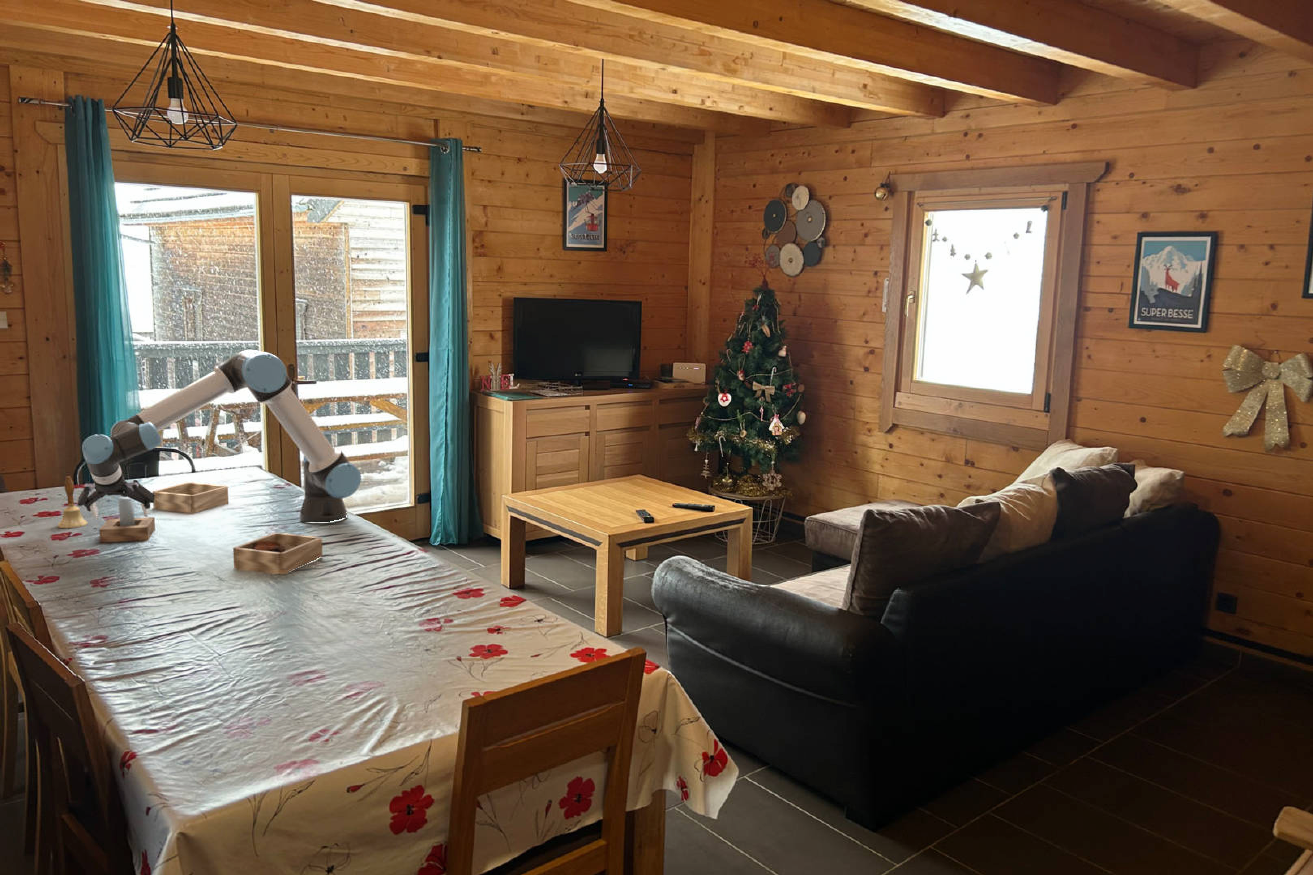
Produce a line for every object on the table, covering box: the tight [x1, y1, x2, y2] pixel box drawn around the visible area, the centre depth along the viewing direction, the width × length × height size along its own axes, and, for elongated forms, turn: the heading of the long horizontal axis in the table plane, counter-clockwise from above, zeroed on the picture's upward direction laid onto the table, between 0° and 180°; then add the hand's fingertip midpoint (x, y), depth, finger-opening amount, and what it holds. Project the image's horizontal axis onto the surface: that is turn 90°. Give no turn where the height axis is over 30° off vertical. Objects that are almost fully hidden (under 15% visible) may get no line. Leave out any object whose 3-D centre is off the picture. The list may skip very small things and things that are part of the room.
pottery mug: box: [252, 541, 286, 553], centre depth 273 cm, size 12×10×8 cm
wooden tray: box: [152, 482, 229, 514], centre depth 339 cm, size 17×17×6 cm
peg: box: [118, 496, 136, 526], centre depth 298 cm, size 4×4×12 cm
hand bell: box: [57, 475, 89, 529], centre depth 309 cm, size 8×8×16 cm
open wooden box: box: [232, 532, 323, 575], centre depth 275 cm, size 16×18×6 cm
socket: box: [98, 516, 156, 543], centre depth 299 cm, size 13×13×4 cm
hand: (121, 513), depth 293 cm, fingers open, 13 cm apart
